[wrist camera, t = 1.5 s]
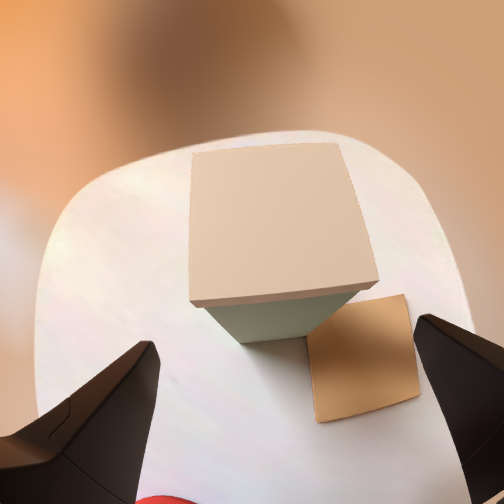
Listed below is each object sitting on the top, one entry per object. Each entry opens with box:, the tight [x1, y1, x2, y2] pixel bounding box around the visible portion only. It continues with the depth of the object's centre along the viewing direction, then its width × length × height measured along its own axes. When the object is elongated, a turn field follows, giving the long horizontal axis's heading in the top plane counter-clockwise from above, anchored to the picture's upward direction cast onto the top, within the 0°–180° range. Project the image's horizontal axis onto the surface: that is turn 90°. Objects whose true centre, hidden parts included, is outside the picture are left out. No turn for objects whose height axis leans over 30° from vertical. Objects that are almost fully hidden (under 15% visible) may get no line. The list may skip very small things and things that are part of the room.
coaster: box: [306, 294, 420, 423], centre depth 17 cm, size 8×8×1 cm
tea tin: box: [189, 143, 379, 343], centre depth 13 cm, size 5×5×13 cm
